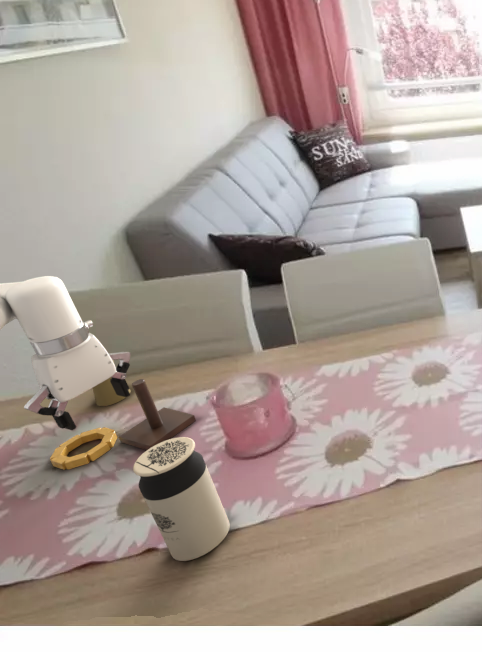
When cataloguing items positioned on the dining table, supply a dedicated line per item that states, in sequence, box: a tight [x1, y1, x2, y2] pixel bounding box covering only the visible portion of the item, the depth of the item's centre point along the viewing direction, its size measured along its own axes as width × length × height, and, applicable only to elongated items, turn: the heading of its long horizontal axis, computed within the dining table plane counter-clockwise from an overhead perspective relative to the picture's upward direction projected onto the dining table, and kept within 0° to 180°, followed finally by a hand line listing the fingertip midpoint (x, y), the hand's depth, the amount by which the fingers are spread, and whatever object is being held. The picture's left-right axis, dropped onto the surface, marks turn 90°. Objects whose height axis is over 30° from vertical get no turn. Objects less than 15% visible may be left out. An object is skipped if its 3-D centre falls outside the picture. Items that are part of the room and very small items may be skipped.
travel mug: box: [132, 436, 231, 562], centre depth 84 cm, size 8×8×18 cm
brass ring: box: [49, 426, 118, 471], centre depth 106 cm, size 9×9×2 cm
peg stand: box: [118, 378, 197, 451], centre depth 109 cm, size 9×9×12 cm
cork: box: [92, 360, 132, 407], centre depth 120 cm, size 6×6×11 cm
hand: (97, 411), depth 108 cm, fingers open, 9 cm apart
